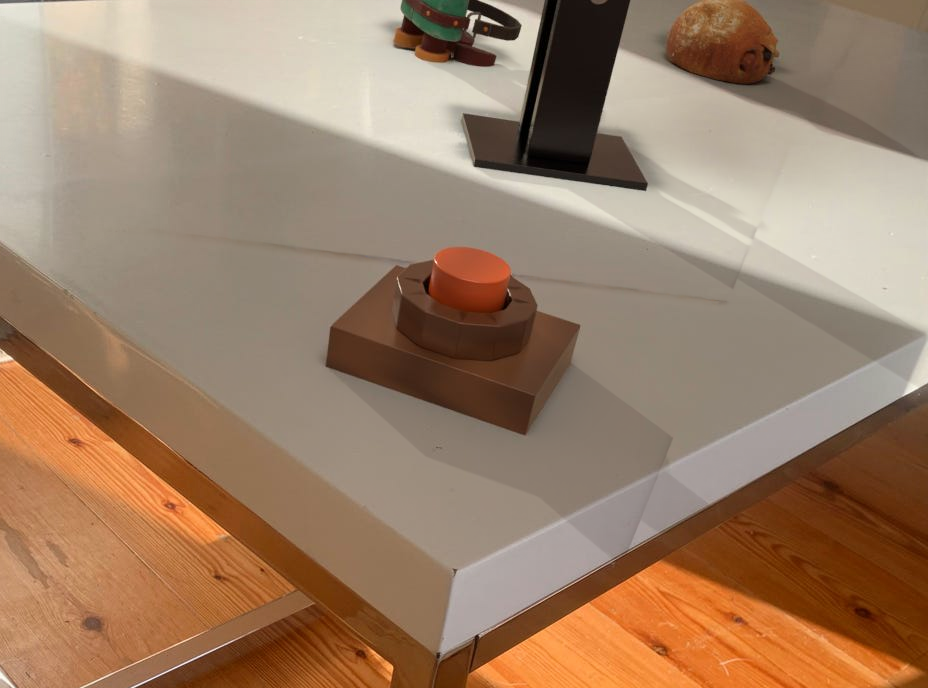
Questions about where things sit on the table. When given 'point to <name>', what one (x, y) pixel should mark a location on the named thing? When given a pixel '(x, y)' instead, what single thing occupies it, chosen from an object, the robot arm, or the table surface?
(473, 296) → the button
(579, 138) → the bracket
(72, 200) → the table surface
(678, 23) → the bread roll
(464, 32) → the binoculars
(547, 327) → the button block
